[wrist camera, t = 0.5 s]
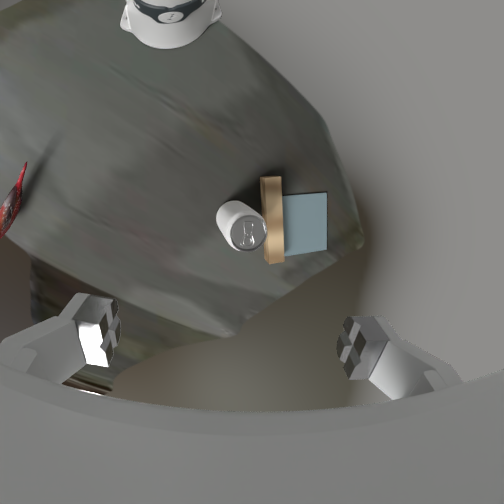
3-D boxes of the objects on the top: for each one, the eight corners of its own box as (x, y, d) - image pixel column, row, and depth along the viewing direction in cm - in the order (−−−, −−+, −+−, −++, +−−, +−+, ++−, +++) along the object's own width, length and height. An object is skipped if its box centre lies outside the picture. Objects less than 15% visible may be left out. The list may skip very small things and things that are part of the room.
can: (215, 234, 54) (226, 255, 43) (216, 199, 52) (227, 211, 41) (249, 234, 55) (268, 254, 44) (251, 200, 53) (271, 212, 42)
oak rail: (259, 176, 52) (264, 178, 49) (275, 175, 53) (280, 176, 50) (264, 258, 58) (269, 263, 55) (279, 256, 58) (284, 261, 55)
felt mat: (279, 196, 54) (279, 196, 54) (325, 192, 56) (326, 192, 56) (281, 256, 58) (282, 256, 58) (325, 248, 60) (326, 249, 60)
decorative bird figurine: (3, 234, 42) (-23, 249, 33) (36, 156, 40) (11, 157, 31) (12, 241, 43) (-13, 258, 34) (46, 163, 41) (21, 166, 32)
